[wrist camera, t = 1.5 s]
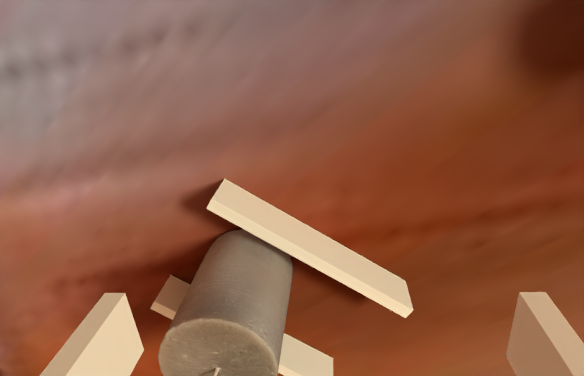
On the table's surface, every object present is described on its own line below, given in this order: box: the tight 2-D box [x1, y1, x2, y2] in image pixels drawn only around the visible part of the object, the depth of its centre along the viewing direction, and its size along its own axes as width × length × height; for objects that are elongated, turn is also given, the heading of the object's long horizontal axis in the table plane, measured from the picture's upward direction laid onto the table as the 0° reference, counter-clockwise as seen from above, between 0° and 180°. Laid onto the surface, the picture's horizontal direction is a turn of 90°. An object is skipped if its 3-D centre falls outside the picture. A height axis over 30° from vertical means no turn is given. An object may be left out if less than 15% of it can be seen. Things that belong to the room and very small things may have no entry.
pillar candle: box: [158, 229, 293, 376], centre depth 36 cm, size 10×10×15 cm
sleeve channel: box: [150, 179, 413, 376], centre depth 41 cm, size 22×15×4 cm
